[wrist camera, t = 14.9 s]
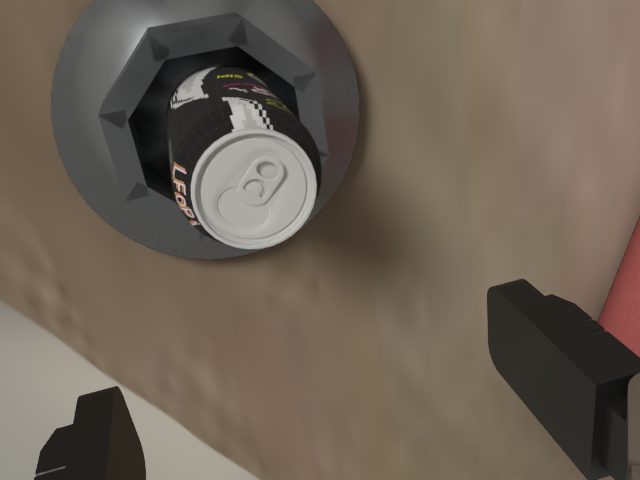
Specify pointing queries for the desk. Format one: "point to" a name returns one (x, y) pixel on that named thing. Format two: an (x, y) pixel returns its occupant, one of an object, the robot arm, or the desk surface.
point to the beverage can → (239, 158)
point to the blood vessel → (625, 298)
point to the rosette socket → (160, 81)
